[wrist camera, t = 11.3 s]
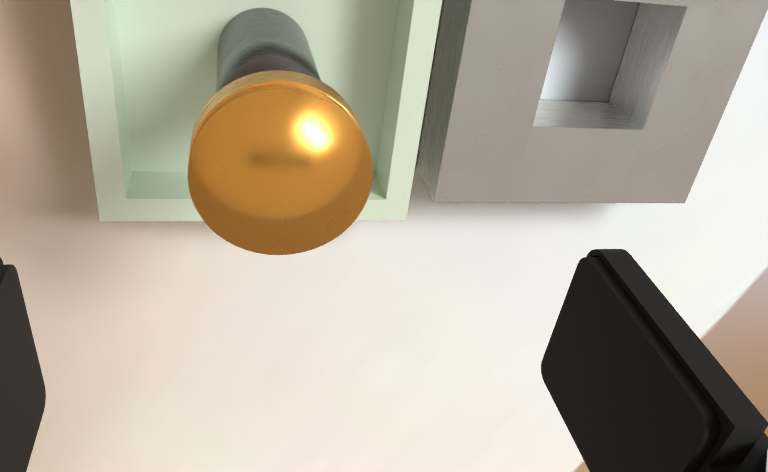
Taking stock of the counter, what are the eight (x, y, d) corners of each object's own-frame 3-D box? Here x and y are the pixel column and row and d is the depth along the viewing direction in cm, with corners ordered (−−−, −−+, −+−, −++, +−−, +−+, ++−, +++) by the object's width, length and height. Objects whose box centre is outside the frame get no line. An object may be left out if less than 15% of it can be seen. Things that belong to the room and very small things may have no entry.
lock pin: (199, -15, 23) (183, 86, 15) (329, -5, 24) (383, 96, 16) (202, 109, 25) (191, 255, 17) (320, 113, 26) (363, 253, 18)
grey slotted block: (466, -136, 23) (495, -128, 20) (752, -98, 26) (808, -87, 23) (416, 168, 29) (434, 202, 27) (649, 172, 32) (684, 203, 30)
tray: (70, -151, 20) (50, -145, 18) (435, -107, 23) (458, -97, 21) (110, 185, 27) (99, 221, 24) (392, 187, 30) (406, 220, 27)
